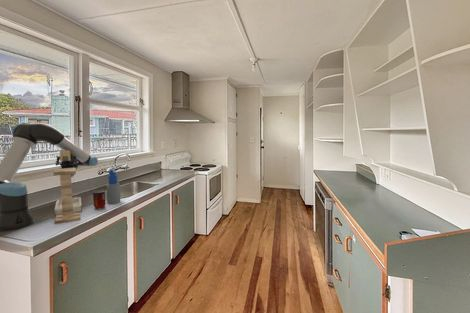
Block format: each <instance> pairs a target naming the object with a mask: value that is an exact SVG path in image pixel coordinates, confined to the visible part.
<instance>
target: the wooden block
mask: <svg viewBox="0 0 470 313" xmlns="http://www.w3.org/2000/svg"><path fill="white" fill-rule="evenodd" d="M59 157H60V160H59V161H60V162H62V161H70V160H71V157H70V151H64V150H60V151H59Z"/></svg>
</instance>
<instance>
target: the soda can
mask: <svg viewBox="0 0 470 313" xmlns="http://www.w3.org/2000/svg"><path fill="white" fill-rule="evenodd" d="M92 195H93V196H92V197H93V207H94V208H95V209H94V210H101V209H104V208H105V207H106V203H107V201H106V190H104V189H97V190H94V191H93V192H92Z"/></svg>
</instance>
